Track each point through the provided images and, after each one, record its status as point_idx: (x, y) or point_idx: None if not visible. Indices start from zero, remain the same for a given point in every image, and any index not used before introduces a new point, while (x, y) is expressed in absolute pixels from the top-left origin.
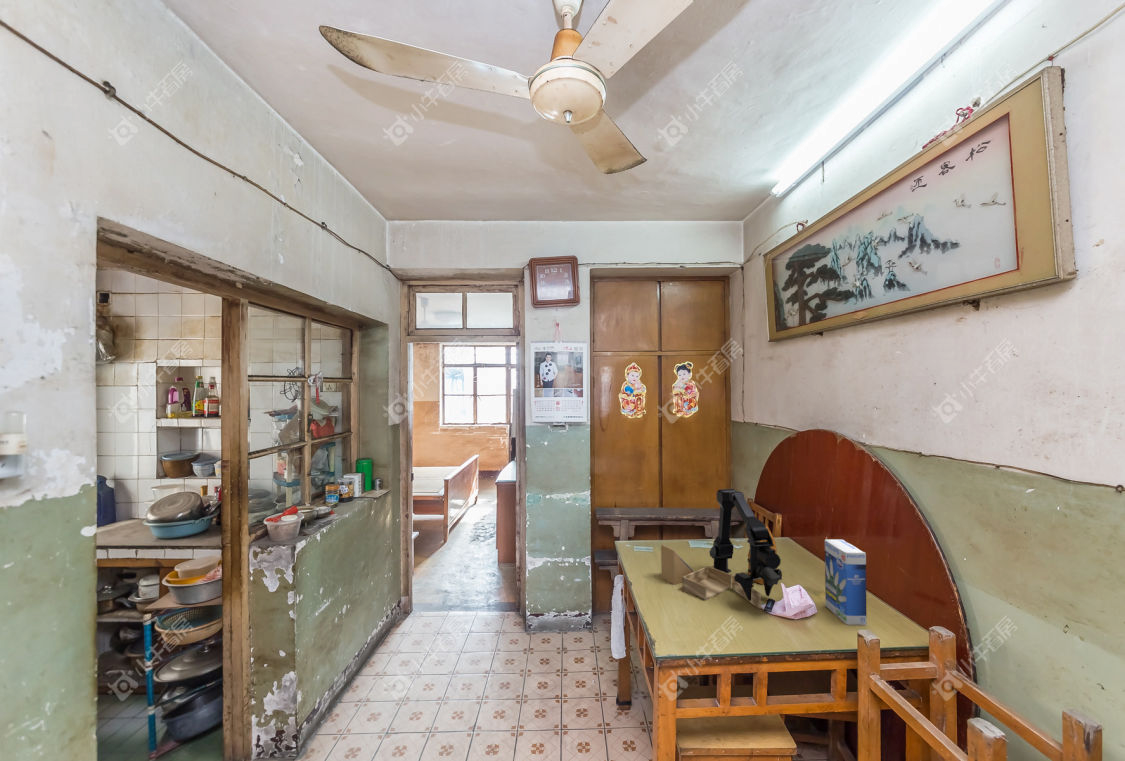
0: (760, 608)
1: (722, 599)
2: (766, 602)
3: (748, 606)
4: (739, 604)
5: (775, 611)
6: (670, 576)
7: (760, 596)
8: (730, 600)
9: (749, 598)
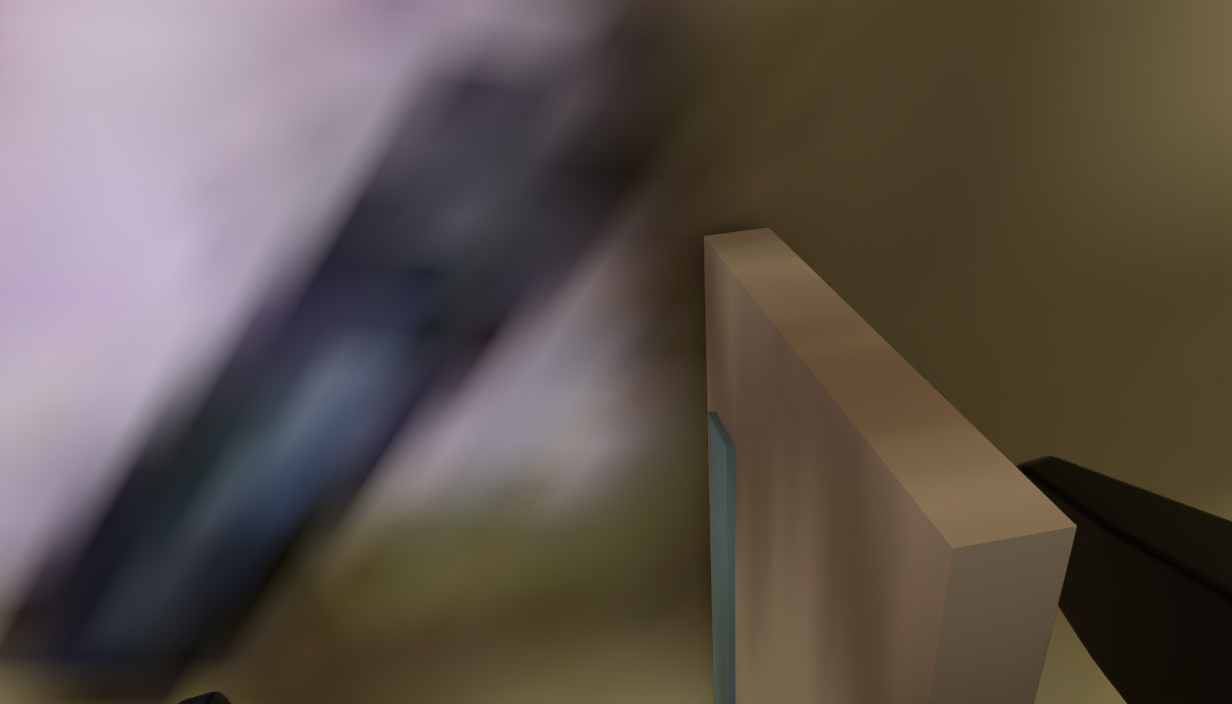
0: (728, 239)
1: None
2: (307, 558)
3: None
4: None
5: (284, 35)
6: None
7: (903, 459)
8: None
9: (1136, 498)
